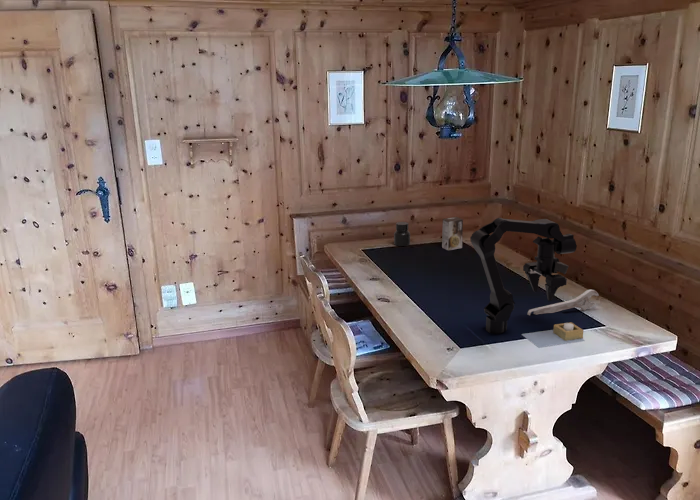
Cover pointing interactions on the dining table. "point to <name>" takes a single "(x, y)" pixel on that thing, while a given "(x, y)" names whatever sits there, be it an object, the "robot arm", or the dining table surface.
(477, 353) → the dining table surface
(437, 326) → the dining table surface
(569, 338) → the tan square tray
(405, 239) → the ink bottle
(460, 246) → the coffee box
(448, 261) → the dining table surface
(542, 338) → the board
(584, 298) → the wrench
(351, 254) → the dining table surface
